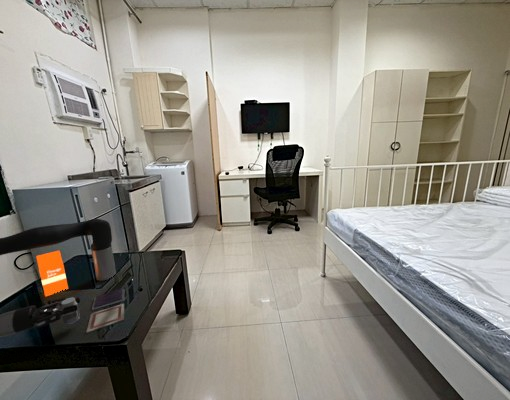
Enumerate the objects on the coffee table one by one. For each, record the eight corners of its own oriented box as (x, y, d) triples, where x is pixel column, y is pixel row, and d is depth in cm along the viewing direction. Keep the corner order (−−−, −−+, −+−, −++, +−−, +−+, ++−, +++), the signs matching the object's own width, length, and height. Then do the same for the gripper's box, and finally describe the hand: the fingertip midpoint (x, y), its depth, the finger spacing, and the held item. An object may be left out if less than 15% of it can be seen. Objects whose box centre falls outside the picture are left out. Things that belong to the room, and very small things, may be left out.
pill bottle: (70, 316, 85) (66, 297, 84) (83, 315, 85) (79, 296, 84) (61, 325, 80) (56, 305, 79) (74, 324, 81) (70, 304, 79)
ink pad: (92, 310, 93) (91, 307, 93) (95, 298, 102) (94, 295, 102) (124, 300, 99) (123, 297, 99) (124, 290, 108) (124, 287, 107)
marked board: (86, 333, 80) (86, 331, 80) (91, 314, 91) (90, 313, 91) (123, 320, 86) (123, 319, 86) (124, 304, 97) (124, 303, 96)
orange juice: (44, 291, 110) (35, 254, 107) (66, 283, 117) (59, 248, 113) (45, 296, 105) (36, 258, 102) (68, 288, 111) (61, 252, 108)
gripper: (3, 324, 68) (72, 304, 76) (22, 300, 80) (80, 285, 89) (9, 345, 69) (76, 323, 78) (26, 318, 82) (83, 302, 90)
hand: (78, 303), depth 83 cm, fingers closed on pill bottle, 4 cm apart
